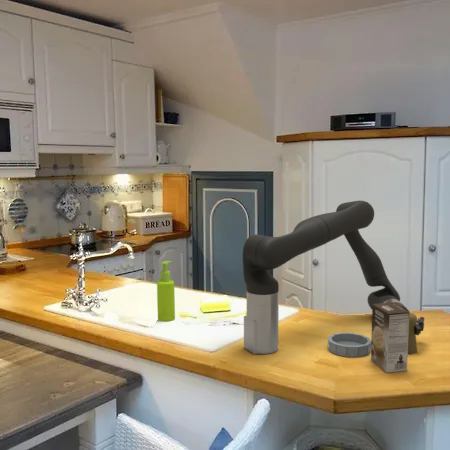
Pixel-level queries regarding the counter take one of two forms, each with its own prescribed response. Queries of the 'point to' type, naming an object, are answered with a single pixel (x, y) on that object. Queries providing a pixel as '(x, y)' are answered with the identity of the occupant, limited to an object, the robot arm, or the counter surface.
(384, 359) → the coffee box
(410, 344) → the cork
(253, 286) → the robot arm
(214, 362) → the counter surface
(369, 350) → the slate dish
